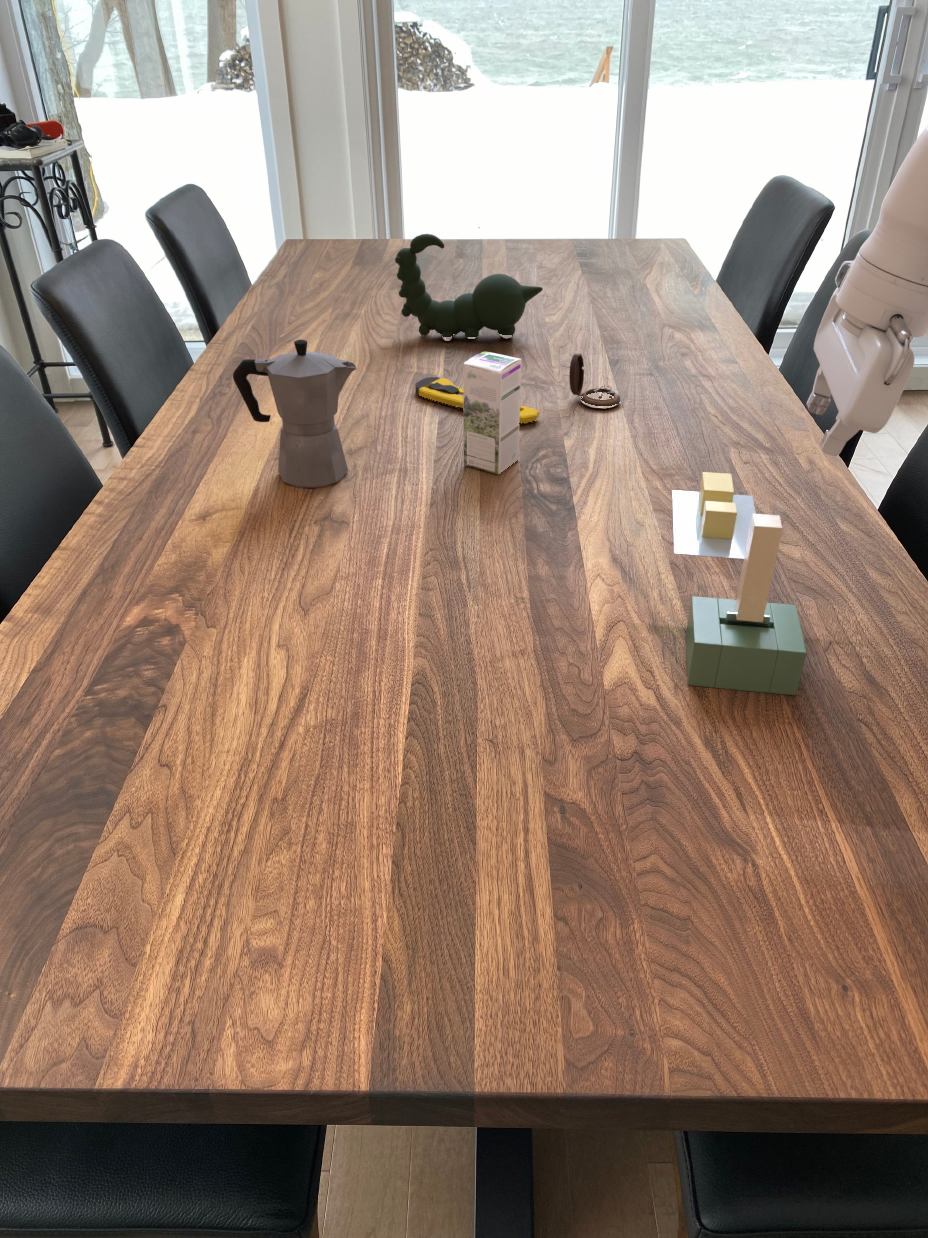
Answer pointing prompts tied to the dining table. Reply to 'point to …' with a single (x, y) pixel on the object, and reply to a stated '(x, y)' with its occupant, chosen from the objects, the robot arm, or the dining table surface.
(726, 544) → the butter dish
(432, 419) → the dining table surface
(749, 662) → the knife block
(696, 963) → the dining table surface
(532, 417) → the utility knife
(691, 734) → the dining table surface
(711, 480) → the butter stick
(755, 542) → the putty knife
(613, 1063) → the dining table surface
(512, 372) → the syrup box
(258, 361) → the coffeepot
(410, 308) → the toy figurine
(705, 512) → the butter pat
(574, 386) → the compass
